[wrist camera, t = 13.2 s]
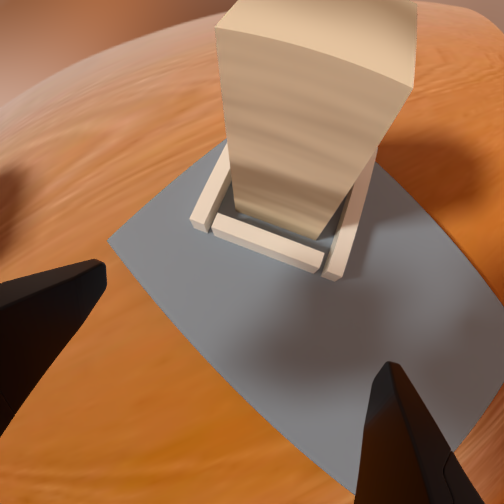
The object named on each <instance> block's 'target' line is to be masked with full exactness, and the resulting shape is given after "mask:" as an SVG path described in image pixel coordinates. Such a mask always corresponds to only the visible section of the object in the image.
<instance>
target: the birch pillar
mask: <svg viewBox="0 0 504 504" xmlns="http://www.w3.org/2000/svg"><path fill="white" fill-rule="evenodd" d="M214 28H215V38H216V47H217V56H218V65H219V74H220V83H221V92H222V101H223V110H224V118H225V127H226V136H227V144H228V153H229V161H230V169H231V178H232V186H233V194H234V202H235V211H237V212H240V213H242V214H245V215H248V216H251V217H253V218H256V219H259V220H262V221H264V222H267V223H270V224H272V225H275V226H278V227H281V228H283V229H286V230H289V231H291V232H294V233H297V234H299V235H302V236H305V237H307V238H310V239H312V240H315V241H316V239H317V238H318V237H319V235H320V234H321V232H322V231H323V229H324V228H325V226H326V225H327V223H328V222H329V220H330V219H331V217H332V216H333V214H334V213H335V211H336V210H337V208H338V207H339V205H340V204H341V202H342V201H343V199H344V198H345V196H346V195H347V193H348V192H349V190H350V189H351V187H352V186H353V184H354V183H355V181H356V179H357V178H358V176H359V175H360V173H361V172H362V170H363V169H364V167H365V166H366V164H367V162H368V161H369V159H370V158H371V156H372V155H373V153H374V151H375V150H376V148H377V147H378V145H379V144H380V142H381V140H382V139H383V137H384V136H385V134H386V132H387V131H388V129H389V127H390V126H391V124H392V123H393V121H394V119H395V118H396V116H397V114H398V113H399V111H400V110H401V108H402V106H403V105H404V103H405V101H406V100H407V98H408V96H409V95H410V93H411V91H412V90H413V85H414V73H415V59H416V41H417V3H414V2H412V1H410V0H238V1H237V2H236V3H235V4H234V6H233V7H232V8H231V9H230V10H229V11H228V12H227V13H226V14H225V16H224V17H223V18H222V19H221V20H220V21H219V22H218V24H217V25H216V26H215V27H214Z"/></svg>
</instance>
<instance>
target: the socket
mask: <svg viewBox="0 0 504 504" xmlns="http://www.w3.org/2000/svg"><path fill="white" fill-rule="evenodd" d="M377 151H378V147H377V148H376V150H375V151H374V153H373V155H372V156H371V158H370V159H369V161H368V162H367V164H366V166H365V167H364V169H363V170H362V172H361V173H360V175H359V176H358V178H357V179H356V181H355V183H354V184H353V186H352V187H351V189H350V190H349V192H348V193H347V197H346V200H345V203H344V207H343V210H342V213H341V216H340V220H339V223H338V226H337V229H336V232H335V235H334V238H333V241H332V245H331V248H330V251H329V254H328V257H327V260H326V263H325V265H324V268H323V271H322V274H321V277H323V278H326V279H328V280H331V281H334V282H335V281H337V280H338V279H340V278H342V276H343V273H344V270H345V267H346V264H347V260H348V257H349V254H350V251H351V248H352V244H353V241H354V238H355V234H356V231H357V227H358V224H359V220H360V217H361V213H362V210H363V206H364V202H365V199H366V195H367V191H368V187H369V183H370V179H371V175H372V171H373V167H374V163H375V159H376V155H377ZM231 181H232V178H231V169H230V161H229V153H228V144H227V143H226V145H225V147H224V149H223V151H222V153H221V155H220V157H219V159H218V161H217V163H216V165H215V167H214V169H213V171H212V173H211V175H210V177H209V179H208V181H207V183H206V185H205V187H204V189H203V191H202V193H201V195H200V197H199V199H198V201H197V203H196V206H195V208H194V210H193V212H192V214H191V216H190V218H189V219H190V221H191V223H192V225H193V227H194V228H195V229H198V230H200V231H203V232H206V233H208V231H209V229H210V227H211V228H212V231H213V233H214V236H216V237H219V238H221V239H224V240H227V241H229V242H232V243H234V244H237V245H240V246H242V247H245V248H247V249H250V250H253V251H255V252H258V253H261V254H263V255H266V256H268V257H271V258H274V259H276V260H279V261H281V262H284V263H287V264H289V265H292V266H295V267H297V268H300V269H302V270H305V271H308V272H310V273H313V274H314V273H315V272H316V271H317V270H318V269H319V268H320V265H321V262H322V259H323V257H324V254H325V253H323V252H320V251H318V250H315V249H313V248H310V247H307V246H305V245H302V244H300V243H297V242H294V241H292V240H289V239H287V238H284V237H281V236H279V235H276V234H273V233H271V232H268V231H265V230H263V229H260V228H258V227H255V226H252V225H249V224H247V223H244V222H241V221H239V220H236V219H233V218H231V217H228V216H225V215H222V214H220V213H217V211H218V209H219V207H220V205H221V203H222V200H223V198H224V196H225V194H226V192H227V190H228V187H229V185H230V183H231ZM216 213H217V215H216ZM215 216H216V217H215ZM214 218H215V220H214ZM213 220H214V222H213ZM212 222H213V224H212ZM211 225H212V226H211Z"/></svg>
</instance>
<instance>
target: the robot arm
mask: <svg viewBox="0 0 504 504" xmlns="http://www.w3.org/2000/svg"><path fill="white" fill-rule="evenodd" d="M106 286H107V277H106V265H105V263H104V262H101V261H99V260H97V259H91V260H87V261H83V262H79V263H75V264H71V265H67V266H63V267H59V268H55V269H52V270H48V271H44V272H40V273H36V274H32V275H29V276H25V277H21V278H17V279H14V280H10V281H6V282H3V283H2V284H1V283H0V437H1V435H2V434H3V432H4V431H5V429H6V428H7V426H8V425H9V423H10V422H11V420H12V419H13V417H14V416H15V414H16V413H17V411H18V410H19V408H20V407H21V406H22V404H23V403H24V401H25V400H26V398H27V397H28V396H29V394H30V393H31V391H32V390H33V389H34V387H35V386H36V384H37V383H38V382H39V380H40V379H41V378H42V376H43V375H44V374H45V372H46V371H47V370H48V368H49V367H50V366H51V364H52V363H53V362H54V360H55V359H56V358H57V356H58V355H59V354H60V352H61V351H62V350H63V349H64V347H65V346H66V345H67V343H68V342H69V341H70V340H71V338H72V337H73V336H74V335H75V333H76V332H77V331H78V330H79V328H80V327H81V326H82V324H83V323H84V321H85V320H86V318H87V317H88V315H89V314H90V312H91V311H92V309H93V308H94V306H95V305H96V303H97V302H98V300H99V299H100V297H101V296H102V294H103V293H104V291H105V289H106ZM354 504H485V503H484V501H483V500H482V498H481V497H480V495H479V494H478V492H477V491H476V489H475V488H474V486H473V485H472V483H471V482H470V480H469V478H468V477H467V475H466V474H465V472H464V470H463V469H462V467H461V465H460V464H459V462H458V460H457V458H456V456H455V455H454V453H453V451H451V448H450V446H449V444H448V442H447V441H446V439H445V437H444V436H443V434H442V432H441V430H440V429H439V427H438V425H437V423H436V422H435V420H434V418H433V417H432V415H431V413H430V412H429V410H428V408H427V407H426V405H425V403H424V402H423V400H422V398H421V397H420V395H419V394H418V392H417V390H416V389H415V387H414V385H413V384H412V382H411V381H410V379H409V377H408V376H407V374H406V373H405V371H404V370H403V368H402V366H401V365H400V364H399V363H396V362H392V361H387V362H385V363H384V365H383V366H382V368H381V369H380V371H379V372H378V373H377V375H376V376H375V378H374V380H373V382H372V386H371V392H370V397H369V403H368V408H367V413H366V418H365V423H364V429H363V438H362V447H361V456H360V465H359V473H358V480H357V487H356V494H355V500H354Z"/></svg>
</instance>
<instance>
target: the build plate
mask: <svg viewBox="0 0 504 504" xmlns="http://www.w3.org/2000/svg"><path fill="white" fill-rule="evenodd" d="M226 143H227V138H226V139H225V140H224V141H222V142H221V143H220V144H218V145H217V146H216V147H215V148H213V149H212V150H211V151H209V152H208V153H207V154H206V155H204V156H203V157H202V158H201V159H199V160H198V161H197V162H196V163H194V164H193V165H192V166H191V167H189V168H188V169H187V170H186V171H185V172H183V173H182V174H181V175H180V176H179V177H177V178H176V179H175V180H174V181H173V182H171V183H170V184H169V185H168V186H167V187H165V188H164V189H163V190H162V191H161V192H160V193H158V194H157V195H156V196H155V197H154V198H153V199H152V200H150V201H149V202H148V203H147V204H146V205H145V206H144V207H143V208H141V209H140V210H139V211H138V212H137V213H136V214H135V215H134V216H133V217H131V218H130V219H129V220H128V221H127V222H126V223H125V224H124V225H123V226H122V227H121V228H119V229H118V230H117V231H116V232H115V233H114V234H113V235H112V236H111V237H110V238H109V239H108V240H107V242H108V243H109V244H110V246H111V247H112V248H113V250H114V251H115V252H116V254H117V255H118V256H119V257H120V259H121V260H122V261H123V263H124V264H125V265H126V267H127V268H128V269H129V270H130V272H131V273H132V274H133V275H134V277H135V278H136V279H137V280H138V282H139V283H140V284H141V285H142V287H143V288H144V289H145V290H146V292H147V293H148V294H149V295H150V296H151V298H152V299H153V300H154V301H155V302H156V304H157V305H158V306H159V307H160V308H161V309H162V311H163V312H164V313H165V314H166V315H167V317H168V318H169V319H170V320H171V321H172V322H173V323H174V325H175V326H176V327H177V328H178V329H179V330H180V331H181V333H182V334H183V335H184V336H185V337H186V338H187V339H188V340H189V341H190V343H191V344H192V345H193V346H194V347H195V348H196V349H197V350H198V351H199V352H200V354H201V355H202V356H203V357H204V358H205V359H206V360H207V361H208V362H209V363H210V364H211V365H212V366H213V367H214V368H215V370H216V371H217V372H218V373H219V374H220V375H221V376H222V377H223V378H224V379H225V380H226V381H227V382H228V383H229V384H230V385H231V386H232V387H233V388H234V389H235V390H236V391H237V392H238V393H239V394H240V395H241V396H242V397H243V398H244V399H245V400H246V401H247V402H248V403H249V404H250V405H251V406H252V407H253V408H254V409H255V410H256V411H257V412H258V413H260V414H261V415H262V416H263V417H264V418H265V419H266V420H267V421H268V422H269V423H270V424H271V425H272V426H273V427H274V428H276V429H277V430H278V431H279V432H280V433H281V434H282V435H283V436H284V437H285V438H287V439H288V440H289V441H290V442H291V443H292V444H293V445H294V446H296V447H297V448H298V449H299V450H300V451H301V452H302V453H304V454H305V455H306V456H307V457H308V458H309V459H311V460H312V461H313V462H314V463H315V464H317V465H318V466H319V467H320V468H321V469H323V470H324V471H325V472H326V473H327V474H329V475H330V476H331V477H332V478H334V479H335V480H336V481H337V482H339V483H340V484H341V485H342V486H344V487H345V488H346V489H348V490H349V491H350V492H351V493H353V494H354V495H355V494H356V487H357V480H358V473H359V465H360V456H361V447H362V438H363V429H364V423H365V418H366V413H367V408H368V403H369V397H370V392H371V386H372V382H373V380H374V378H375V376H376V375H377V373H378V372H379V371H380V369H381V368H382V366H383V365H384V363H385V362H387V361H392V362H396V363H399V364H400V365H401V366H402V368H403V370H404V371H405V373H406V374H407V376H408V377H409V379H410V381H411V382H412V384H413V385H414V387H415V389H416V390H417V392H418V394H419V395H420V397H421V398H422V400H423V402H424V403H425V405H426V407H427V408H428V410H429V412H430V413H431V415H432V417H433V418H434V420H435V422H436V423H437V425H438V427H439V429H440V430H441V432H442V434H443V436H444V437H445V439H446V441H447V442H448V444H449V446H450V448H451V451H453V452H454V451H455V450H456V449H457V448H458V446H459V445H460V444H461V443H462V441H463V440H464V439H465V438H466V436H467V435H468V434H469V432H470V431H471V430H472V428H473V427H474V426H475V424H476V423H477V422H478V420H479V419H480V418H481V416H482V415H483V413H484V412H485V410H486V409H487V408H488V406H489V405H490V403H491V402H492V400H493V399H494V397H495V396H496V394H497V392H498V391H499V389H500V388H501V386H502V385H503V383H504V307H503V305H502V304H501V302H500V301H499V300H498V298H497V297H496V295H495V294H494V293H493V291H492V290H491V289H490V287H489V286H488V285H487V283H486V282H485V281H484V279H483V278H482V277H481V275H480V274H479V273H478V272H477V270H476V269H475V268H474V267H473V265H472V264H471V263H470V262H469V260H468V259H467V258H466V257H465V255H464V254H463V253H462V252H461V251H460V249H459V248H458V247H457V246H456V245H455V244H454V242H453V241H452V240H451V239H450V238H449V237H448V235H447V234H446V233H445V232H444V231H443V230H442V229H441V227H440V226H439V225H438V224H437V223H436V222H435V221H434V220H433V219H432V218H431V216H430V215H429V214H428V213H427V212H426V211H425V210H424V209H423V208H422V207H421V206H420V205H419V204H418V203H417V202H416V201H415V200H414V199H413V198H412V196H411V195H410V194H409V193H408V192H407V191H406V190H405V189H404V188H403V187H402V186H401V185H400V184H399V183H398V182H397V181H395V180H394V179H393V178H392V177H391V176H390V175H389V174H388V173H387V172H386V171H385V170H384V169H383V168H382V167H381V166H380V165H379V164H378V163H377V162H375V163H374V167H373V171H372V175H371V179H370V183H369V187H368V191H367V195H366V199H365V202H364V206H363V210H362V213H361V217H360V220H359V224H358V227H357V231H356V234H355V238H354V241H353V244H352V248H351V251H350V254H349V257H348V260H347V264H346V267H345V270H344V273H343V276H342V278H340V279H338V280H337V281H335V282H334V281H331V280H328V279H326V278H323V277H321V274H322V271H323V268H324V265H325V263H326V260H327V257H328V254H329V251H330V248H331V245H332V241H333V238H334V235H335V232H336V229H337V226H338V223H339V220H340V216H341V213H342V210H343V207H344V203H345V200H346V197H347V195H346V196H345V198H344V199H343V201H342V202H341V204H340V205H339V207H338V208H337V210H336V211H335V213H334V214H333V216H332V217H331V219H330V220H329V222H328V223H327V225H326V226H325V228H324V229H323V231H322V232H321V234H320V235H319V237H318V238H317V239H316V241H315V240H312V239H310V238H307V237H305V236H302V235H299V234H297V233H294V232H291V231H289V230H286V229H283V228H281V227H278V226H275V225H272V224H270V223H267V222H264V221H262V220H259V219H256V218H253V217H251V216H248V215H245V214H242V213H240V212H237V211H235V202H234V194H233V186H232V181H231V183H230V185H229V187H228V190H227V192H226V194H225V196H224V198H223V200H222V203H221V205H220V207H219V209H218V211H217V213H220V214H222V215H225V216H228V217H231V218H233V219H236V220H239V221H241V222H244V223H247V224H249V225H252V226H255V227H258V228H260V229H263V230H265V231H268V232H271V233H273V234H276V235H279V236H281V237H284V238H287V239H289V240H292V241H294V242H297V243H300V244H302V245H305V246H307V247H310V248H313V249H315V250H318V251H320V252H323V253H325V254H324V257H323V259H322V262H321V265H320V268H319V269H318V270H317V271H316V272H315V273H314V274H313V273H310V272H308V271H305V270H302V269H300V268H297V267H295V266H292V265H289V264H287V263H284V262H281V261H279V260H276V259H274V258H271V257H268V256H266V255H263V254H261V253H258V252H255V251H253V250H250V249H247V248H245V247H242V246H240V245H237V244H234V243H232V242H229V241H227V240H224V239H221V238H219V237H216V236H214V233H213V231H212V228H211V227H210V229H209V231H208V233H206V232H203V231H200V230H198V229H195V228H194V227H193V225H192V223H191V221H190V219H189V218H190V216H191V214H192V212H193V210H194V208H195V206H196V203H197V201H198V199H199V197H200V195H201V193H202V191H203V189H204V187H205V185H206V183H207V181H208V179H209V177H210V175H211V173H212V171H213V169H214V167H215V165H216V163H217V161H218V159H219V157H220V155H221V153H222V151H223V149H224V147H225V145H226ZM217 213H216V215H217ZM215 217H216V216H215ZM214 220H215V218H214ZM214 220H213V222H214ZM213 222H212V224H213ZM211 226H212V225H211Z"/></svg>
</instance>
